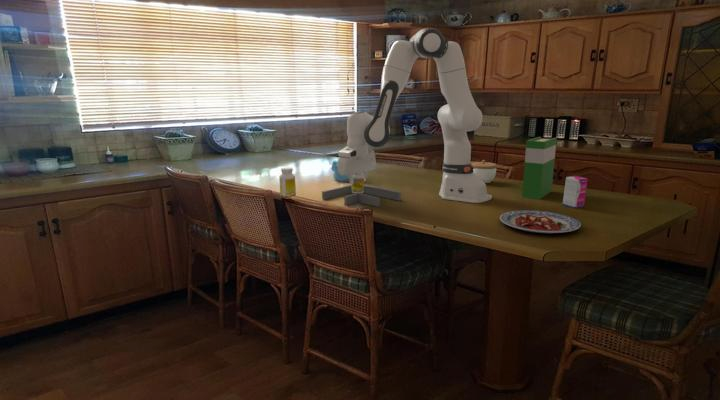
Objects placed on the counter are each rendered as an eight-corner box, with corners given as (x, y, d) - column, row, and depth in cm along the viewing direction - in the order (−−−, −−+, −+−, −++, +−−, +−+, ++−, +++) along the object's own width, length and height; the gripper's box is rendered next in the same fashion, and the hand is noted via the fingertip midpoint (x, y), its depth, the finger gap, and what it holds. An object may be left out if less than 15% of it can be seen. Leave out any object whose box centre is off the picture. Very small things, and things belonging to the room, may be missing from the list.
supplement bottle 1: (299, 197, 203) (297, 167, 200) (290, 200, 197) (289, 170, 194) (285, 195, 206) (284, 166, 203) (277, 199, 200) (275, 169, 197)
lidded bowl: (499, 181, 232) (500, 159, 230) (491, 186, 222) (492, 163, 219) (474, 178, 239) (475, 157, 236) (465, 183, 229) (466, 160, 226)
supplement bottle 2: (363, 190, 206) (363, 169, 204) (364, 193, 201) (364, 171, 198) (351, 191, 205) (351, 169, 203) (351, 193, 200) (351, 171, 198)
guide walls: (400, 200, 197) (401, 192, 196) (366, 210, 182) (366, 201, 181) (357, 191, 213) (357, 183, 213) (322, 199, 198) (322, 191, 198)
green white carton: (534, 189, 215) (539, 136, 209) (551, 191, 211) (556, 137, 205) (522, 196, 202) (526, 140, 196) (539, 199, 197) (545, 141, 191)
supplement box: (574, 208, 183) (577, 179, 180) (562, 205, 188) (565, 176, 185) (584, 206, 185) (588, 178, 182) (572, 203, 190) (575, 175, 188)
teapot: (360, 176, 248) (359, 155, 245) (365, 181, 233) (365, 160, 231) (331, 177, 245) (330, 156, 243) (334, 183, 231) (334, 161, 228)
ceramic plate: (490, 230, 157) (490, 221, 156) (510, 212, 178) (510, 205, 178) (573, 243, 144) (574, 234, 143) (584, 222, 165) (585, 214, 165)
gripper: (368, 147, 208) (368, 178, 211) (335, 152, 194) (335, 185, 197) (379, 148, 204) (379, 180, 207) (345, 153, 189) (346, 187, 193)
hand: (357, 182), depth 202 cm, fingers closed on supplement bottle 2, 5 cm apart
